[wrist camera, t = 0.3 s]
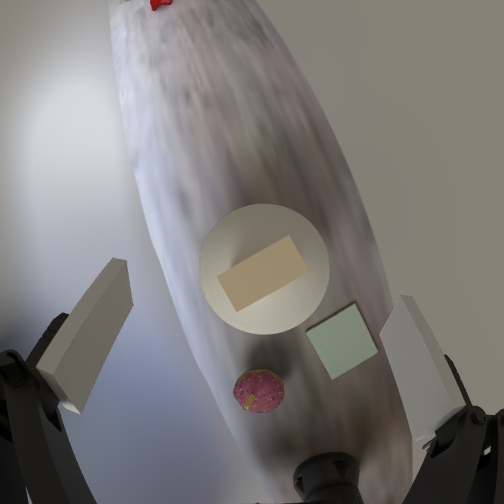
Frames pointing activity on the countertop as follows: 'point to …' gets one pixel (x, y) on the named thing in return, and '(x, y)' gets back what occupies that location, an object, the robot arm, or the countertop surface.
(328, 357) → the mat
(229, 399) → the countertop surface
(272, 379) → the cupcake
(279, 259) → the lid
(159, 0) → the cap
